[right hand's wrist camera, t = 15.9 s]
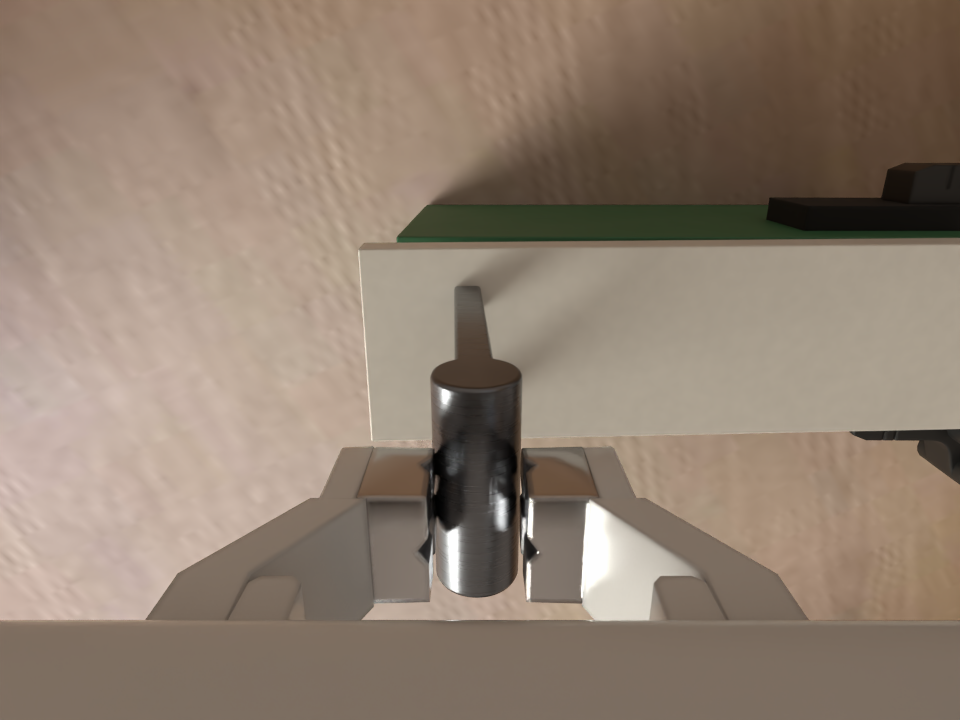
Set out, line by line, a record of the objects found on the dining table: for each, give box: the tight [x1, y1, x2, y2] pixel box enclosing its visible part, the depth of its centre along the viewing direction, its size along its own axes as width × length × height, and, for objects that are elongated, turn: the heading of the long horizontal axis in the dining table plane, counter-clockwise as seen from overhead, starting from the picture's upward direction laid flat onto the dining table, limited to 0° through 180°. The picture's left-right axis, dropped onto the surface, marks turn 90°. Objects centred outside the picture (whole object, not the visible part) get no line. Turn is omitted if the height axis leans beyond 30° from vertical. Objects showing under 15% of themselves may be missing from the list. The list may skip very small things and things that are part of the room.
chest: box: [397, 205, 960, 243], centre depth 22 cm, size 17×6×9 cm, turn 90°
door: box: [358, 238, 960, 598], centre depth 14 cm, size 18×6×8 cm, turn 90°
